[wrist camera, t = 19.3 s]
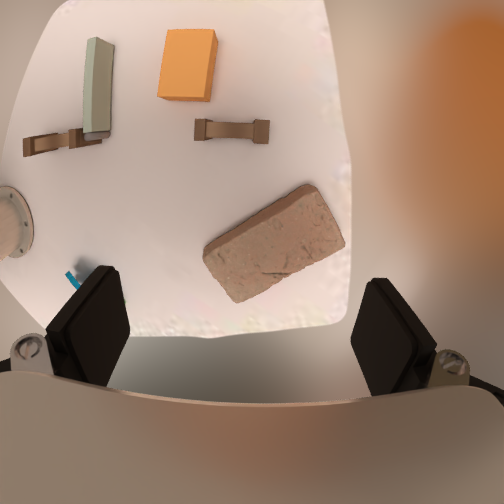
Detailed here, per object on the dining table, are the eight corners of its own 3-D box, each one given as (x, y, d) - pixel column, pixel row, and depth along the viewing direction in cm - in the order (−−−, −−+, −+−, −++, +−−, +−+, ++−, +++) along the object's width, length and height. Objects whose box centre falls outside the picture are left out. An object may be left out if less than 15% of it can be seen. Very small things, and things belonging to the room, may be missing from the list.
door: (110, 137, 31) (91, 140, 26) (95, 139, 31) (75, 143, 26) (113, 45, 26) (96, 36, 21) (98, 49, 26) (79, 41, 21)
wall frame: (51, 150, 31) (23, 157, 25) (51, 134, 30) (22, 138, 24) (264, 141, 32) (268, 144, 26) (265, 122, 31) (269, 120, 25)
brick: (236, 291, 41) (235, 310, 37) (201, 246, 38) (196, 262, 34) (338, 232, 38) (349, 245, 33) (309, 179, 35) (318, 186, 30)
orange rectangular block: (169, 100, 30) (157, 96, 25) (177, 41, 27) (167, 29, 22) (209, 101, 30) (203, 97, 26) (218, 42, 27) (213, 29, 22)
